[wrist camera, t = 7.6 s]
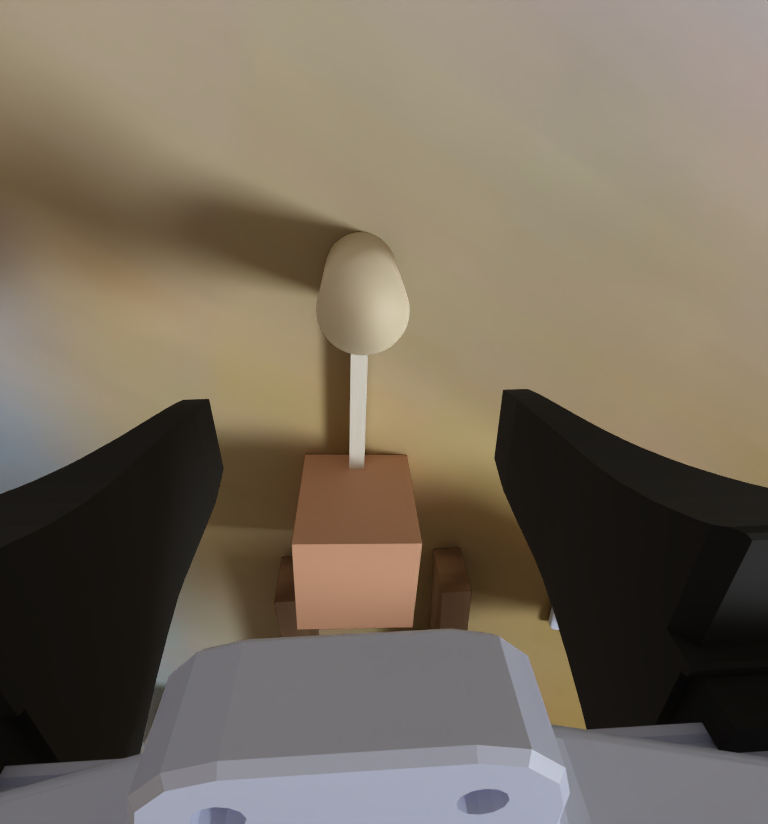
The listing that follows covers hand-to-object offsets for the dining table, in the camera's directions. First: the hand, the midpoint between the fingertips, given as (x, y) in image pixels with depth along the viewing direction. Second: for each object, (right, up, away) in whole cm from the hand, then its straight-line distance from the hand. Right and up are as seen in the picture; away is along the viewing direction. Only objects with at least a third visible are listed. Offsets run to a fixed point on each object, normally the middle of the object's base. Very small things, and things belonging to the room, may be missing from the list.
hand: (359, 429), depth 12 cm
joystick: (-1, +1, +10) cm, 10 cm away
